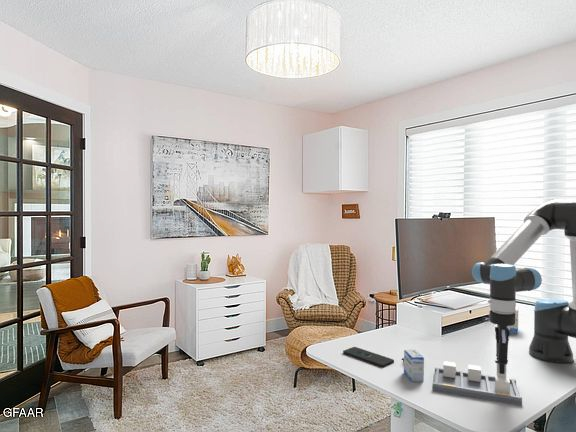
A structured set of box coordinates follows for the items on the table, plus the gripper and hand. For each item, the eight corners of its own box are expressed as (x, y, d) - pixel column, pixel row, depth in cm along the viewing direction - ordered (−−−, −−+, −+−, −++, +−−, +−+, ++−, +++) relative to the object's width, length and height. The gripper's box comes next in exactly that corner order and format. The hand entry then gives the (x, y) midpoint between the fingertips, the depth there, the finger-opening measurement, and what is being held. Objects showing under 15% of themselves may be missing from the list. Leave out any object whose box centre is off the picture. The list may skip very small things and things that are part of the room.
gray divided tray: (515, 385, 136) (515, 378, 136) (522, 405, 123) (522, 398, 123) (435, 373, 147) (435, 366, 147) (432, 390, 133) (432, 383, 133)
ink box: (518, 329, 199) (518, 306, 199) (517, 334, 192) (518, 310, 191) (499, 327, 203) (499, 304, 203) (497, 331, 196) (497, 307, 196)
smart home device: (354, 346, 172) (394, 359, 157) (354, 350, 172) (394, 363, 157) (342, 350, 166) (382, 364, 151) (342, 354, 166) (382, 369, 151)
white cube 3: (455, 373, 142) (455, 362, 142) (455, 378, 139) (455, 366, 139) (443, 371, 144) (443, 361, 144) (443, 376, 140) (443, 365, 140)
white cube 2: (480, 377, 139) (480, 366, 139) (480, 382, 136) (481, 370, 136) (467, 375, 141) (467, 364, 141) (468, 380, 137) (468, 368, 137)
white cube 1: (508, 389, 130) (508, 377, 130) (509, 394, 126) (510, 382, 126) (494, 387, 132) (494, 375, 132) (495, 392, 128) (496, 380, 128)
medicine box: (403, 372, 147) (403, 349, 147) (415, 372, 148) (415, 349, 147) (411, 381, 139) (412, 357, 139) (424, 381, 140) (424, 357, 139)
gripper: (488, 305, 138) (487, 372, 139) (491, 314, 126) (490, 388, 127) (512, 307, 135) (511, 376, 136) (518, 317, 123) (517, 392, 124)
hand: (501, 381), depth 131 cm, fingers closed
